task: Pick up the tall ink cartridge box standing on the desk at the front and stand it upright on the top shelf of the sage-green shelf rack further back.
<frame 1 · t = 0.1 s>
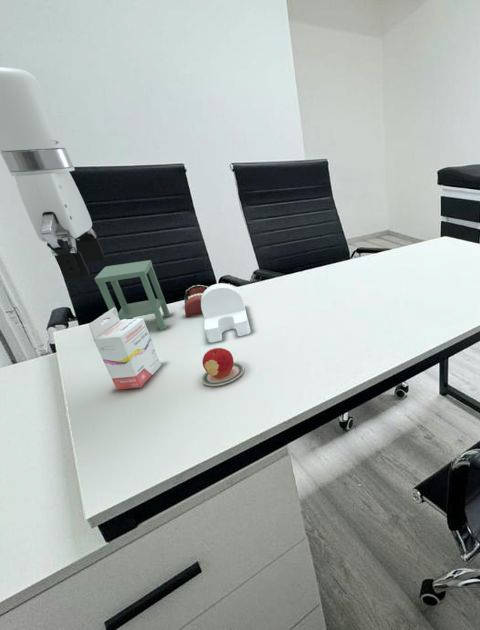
hand: (87, 268, 67), 25 cm above the table, tool pointing down, fingers open, 9 cm apart
apple: (224, 376, 80), on the table
high shelf: (147, 325, 103), on the table
teeth model: (202, 308, 112), on the table
white phone stand: (228, 324, 102), on the table
ink cartridge box: (141, 377, 81), on the table
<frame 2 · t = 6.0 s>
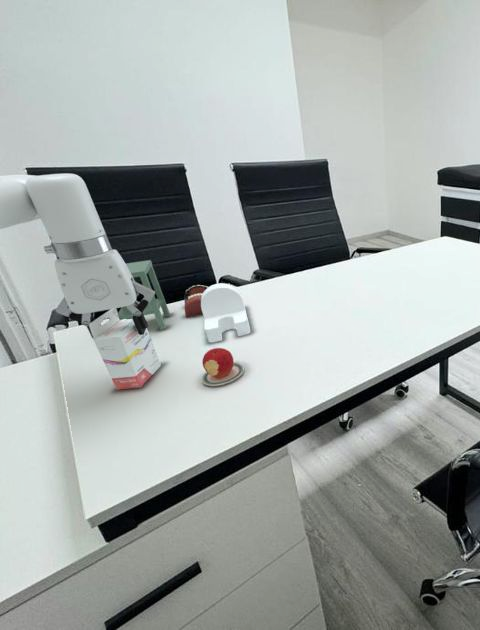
hand: (122, 335, 76), 10 cm above the table, tool pointing down, fingers closed on ink cartridge box, 6 cm apart
ink cartridge box: (141, 377, 81), on the table, touching gripper
everything else where it was.
when the fingers open (26 cm above the table, at t = 14.7 s): ink cartridge box stays where it is, resting on high shelf.
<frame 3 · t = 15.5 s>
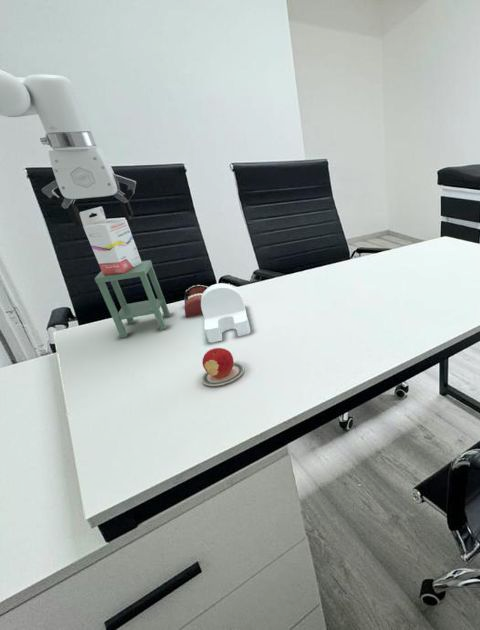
hand: (105, 221, 91), 28 cm above the table, tool pointing down, fingers open, 9 cm apart
ink cartridge box: (124, 269, 96), point 16 cm above the table, touching high shelf
everything else where it was.
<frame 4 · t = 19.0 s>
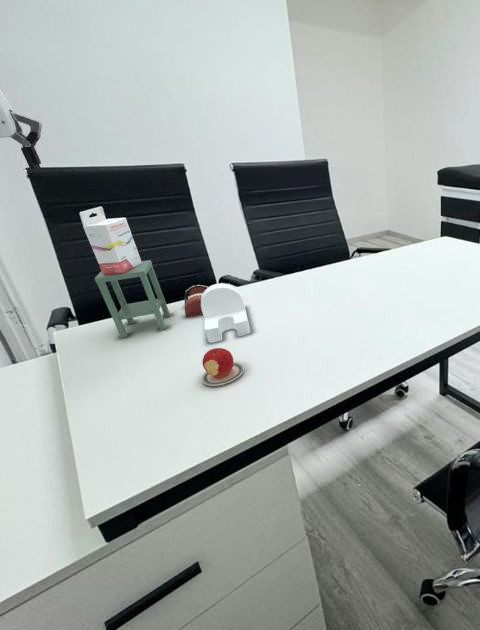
hand: (4, 170, 76), 40 cm above the table, tool pointing down, fingers open, 9 cm apart
nothing on the table moved.
at the end: ink cartridge box inside the target area on the high shelf (0.0 cm from its centre), point 15.8 cm above the high shelf's base; ink cartridge box tilted 0°; the gripper is holding nothing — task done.
